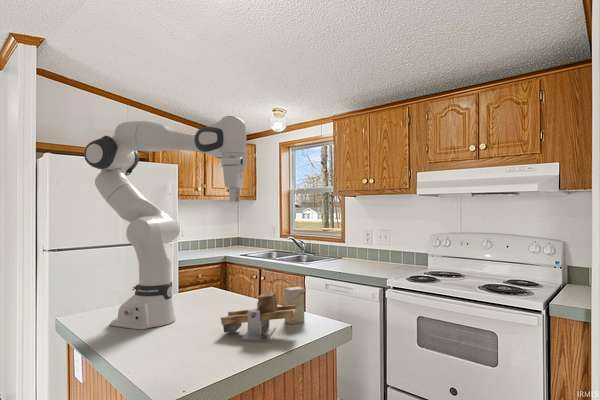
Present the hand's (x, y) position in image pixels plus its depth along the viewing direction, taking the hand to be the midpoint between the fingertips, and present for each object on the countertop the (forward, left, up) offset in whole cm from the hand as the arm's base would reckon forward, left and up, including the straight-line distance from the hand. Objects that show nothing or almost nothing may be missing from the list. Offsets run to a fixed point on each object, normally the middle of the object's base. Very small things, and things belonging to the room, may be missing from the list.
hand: (234, 201), depth 130 cm
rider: (+14, -6, -37) cm, 40 cm away
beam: (+11, -7, -41) cm, 43 cm away
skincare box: (+19, +9, -44) cm, 49 cm away
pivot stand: (+10, -6, -44) cm, 46 cm away
